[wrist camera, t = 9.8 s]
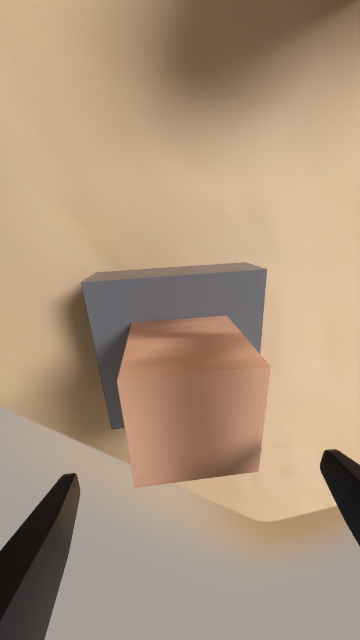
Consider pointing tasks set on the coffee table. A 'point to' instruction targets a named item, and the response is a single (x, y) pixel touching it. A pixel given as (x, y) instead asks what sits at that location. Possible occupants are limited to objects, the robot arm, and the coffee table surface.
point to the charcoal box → (167, 308)
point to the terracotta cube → (192, 400)
